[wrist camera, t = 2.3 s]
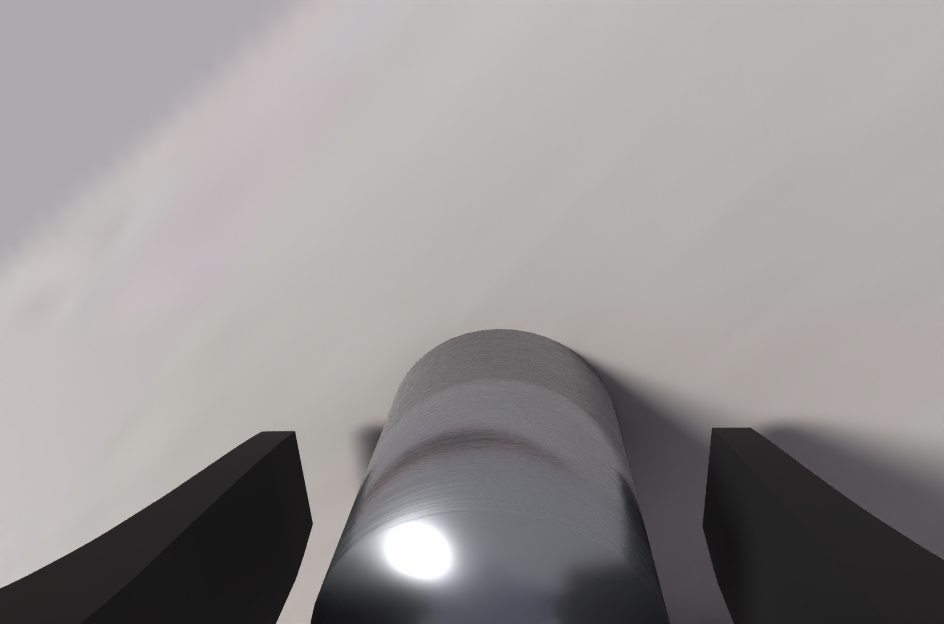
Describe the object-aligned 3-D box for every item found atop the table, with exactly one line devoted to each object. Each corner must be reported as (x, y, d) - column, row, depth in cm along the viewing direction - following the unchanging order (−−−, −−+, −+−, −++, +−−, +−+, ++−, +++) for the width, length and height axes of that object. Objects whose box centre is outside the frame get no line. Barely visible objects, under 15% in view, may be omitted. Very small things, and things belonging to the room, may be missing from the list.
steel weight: (619, 325, 11) (686, 513, 6) (613, 523, 13) (664, 785, 8) (379, 331, 12) (282, 511, 7) (403, 522, 13) (336, 769, 9)
